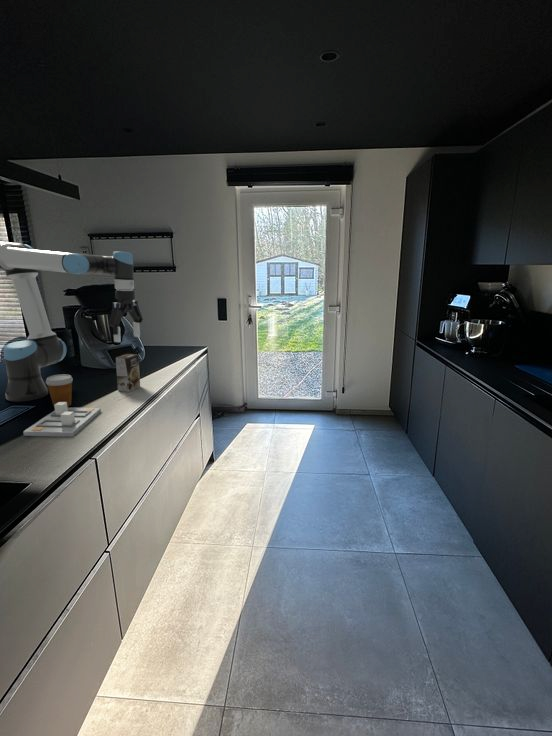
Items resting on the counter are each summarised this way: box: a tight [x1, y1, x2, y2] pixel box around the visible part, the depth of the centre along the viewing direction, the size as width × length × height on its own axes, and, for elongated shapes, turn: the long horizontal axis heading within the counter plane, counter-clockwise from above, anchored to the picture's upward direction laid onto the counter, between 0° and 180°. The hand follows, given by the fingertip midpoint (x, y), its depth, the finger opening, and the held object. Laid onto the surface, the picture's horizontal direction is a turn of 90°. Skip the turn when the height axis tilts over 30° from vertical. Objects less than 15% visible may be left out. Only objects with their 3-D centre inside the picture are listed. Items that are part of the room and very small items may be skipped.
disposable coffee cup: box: [45, 373, 73, 408], centre depth 144 cm, size 10×10×12 cm
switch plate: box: [22, 407, 102, 438], centre depth 130 cm, size 16×22×2 cm
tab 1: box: [53, 402, 69, 415], centre depth 133 cm, size 3×3×4 cm
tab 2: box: [61, 411, 75, 425], centre depth 125 cm, size 3×3×4 cm
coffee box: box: [115, 353, 141, 393], centre depth 167 cm, size 9×6×16 cm
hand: (127, 339), depth 156 cm, fingers open, 13 cm apart
